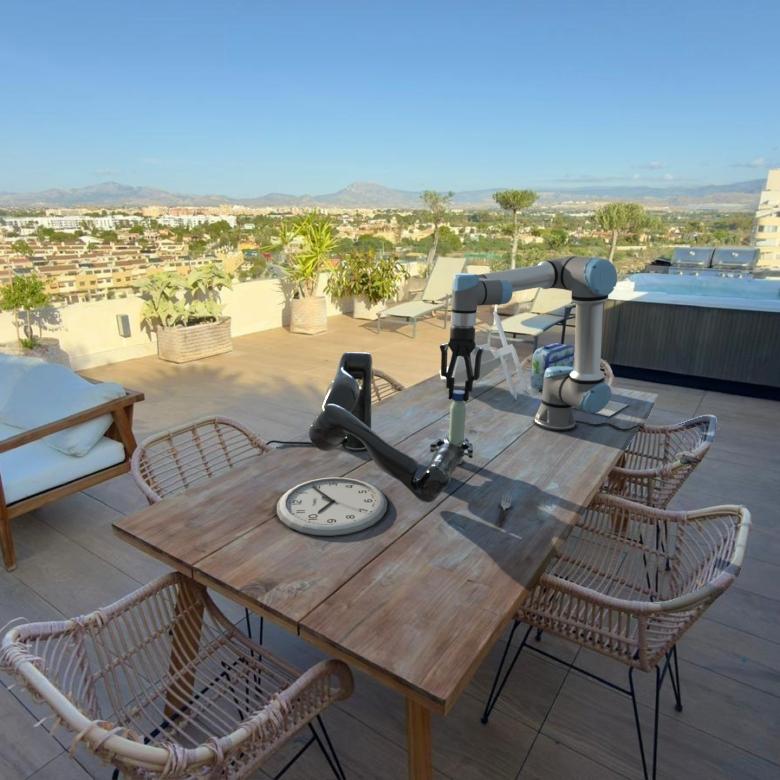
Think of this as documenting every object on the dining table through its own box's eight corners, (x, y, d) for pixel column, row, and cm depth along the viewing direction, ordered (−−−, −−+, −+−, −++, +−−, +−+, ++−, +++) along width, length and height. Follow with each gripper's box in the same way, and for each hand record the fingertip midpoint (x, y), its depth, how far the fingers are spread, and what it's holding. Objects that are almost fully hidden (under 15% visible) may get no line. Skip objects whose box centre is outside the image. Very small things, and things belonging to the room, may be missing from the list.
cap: (461, 402, 162) (462, 394, 161) (449, 399, 164) (449, 392, 163) (467, 398, 165) (468, 391, 165) (455, 396, 168) (456, 389, 167)
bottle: (458, 465, 168) (462, 396, 161) (444, 462, 170) (448, 393, 163) (464, 460, 172) (469, 392, 165) (451, 456, 174) (455, 390, 167)
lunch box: (546, 395, 240) (551, 350, 234) (526, 389, 248) (530, 346, 241) (573, 384, 258) (578, 342, 252) (553, 379, 265) (558, 339, 259)
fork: (493, 528, 133) (493, 521, 132) (502, 499, 147) (503, 492, 147) (503, 530, 132) (504, 523, 131) (511, 500, 146) (512, 494, 146)
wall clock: (392, 527, 129) (268, 531, 127) (391, 533, 130) (269, 537, 127) (383, 473, 158) (282, 475, 155) (383, 478, 158) (282, 480, 156)
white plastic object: (461, 429, 252) (437, 405, 227) (444, 352, 274) (420, 323, 250) (535, 404, 240) (518, 377, 215) (510, 326, 262) (492, 293, 237)
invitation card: (608, 416, 214) (573, 407, 224) (608, 416, 214) (573, 408, 224) (628, 404, 229) (594, 396, 238) (628, 405, 229) (594, 397, 238)
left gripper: (422, 467, 160) (436, 446, 175) (468, 475, 155) (478, 453, 170) (423, 444, 157) (437, 425, 173) (470, 452, 153) (480, 431, 168)
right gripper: (494, 326, 158) (488, 399, 165) (439, 321, 164) (436, 392, 171) (488, 330, 151) (482, 406, 158) (431, 325, 158) (428, 398, 165)
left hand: (457, 439), depth 171 cm, fingers closed on bottle, 5 cm apart
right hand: (458, 399), depth 165 cm, fingers open, 4 cm apart
